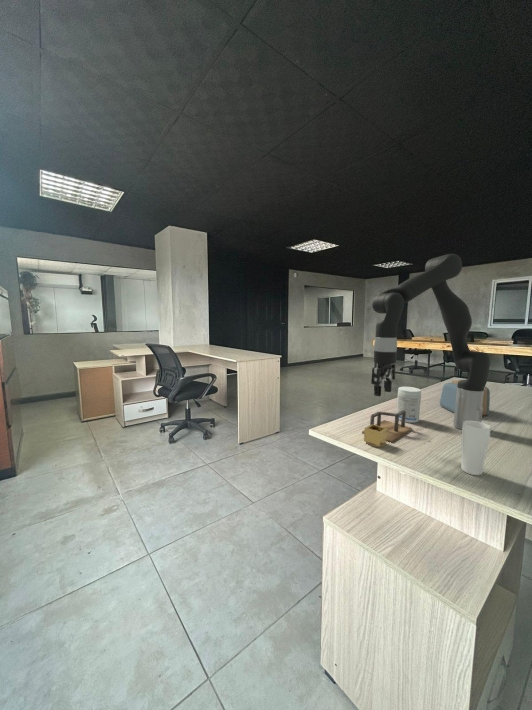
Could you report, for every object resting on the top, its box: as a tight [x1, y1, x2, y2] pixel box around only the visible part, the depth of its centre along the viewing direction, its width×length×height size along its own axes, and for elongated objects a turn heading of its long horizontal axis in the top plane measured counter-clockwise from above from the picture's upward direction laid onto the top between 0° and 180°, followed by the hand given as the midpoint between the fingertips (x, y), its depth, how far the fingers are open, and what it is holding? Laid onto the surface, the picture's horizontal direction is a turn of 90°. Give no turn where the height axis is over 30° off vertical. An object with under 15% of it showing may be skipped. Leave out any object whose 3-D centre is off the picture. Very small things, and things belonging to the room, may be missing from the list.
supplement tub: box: [396, 386, 422, 424], centre depth 130 cm, size 10×10×15 cm
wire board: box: [361, 410, 413, 444], centre depth 116 cm, size 12×20×8 cm, turn 133°
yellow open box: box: [363, 424, 388, 446], centre depth 105 cm, size 6×6×5 cm
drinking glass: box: [460, 421, 492, 476], centre depth 85 cm, size 7×7×15 cm
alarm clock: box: [439, 379, 491, 416], centre depth 145 cm, size 16×16×16 cm
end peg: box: [365, 430, 387, 448], centre depth 105 cm, size 7×7×5 cm
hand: (382, 393), depth 104 cm, fingers open, 8 cm apart
